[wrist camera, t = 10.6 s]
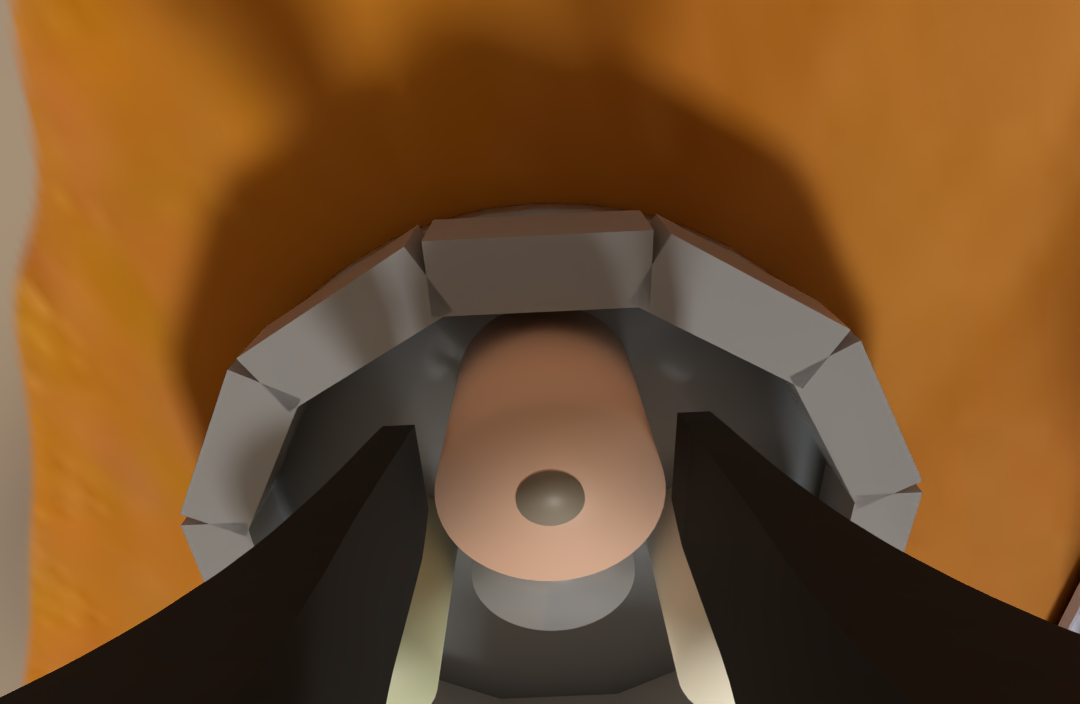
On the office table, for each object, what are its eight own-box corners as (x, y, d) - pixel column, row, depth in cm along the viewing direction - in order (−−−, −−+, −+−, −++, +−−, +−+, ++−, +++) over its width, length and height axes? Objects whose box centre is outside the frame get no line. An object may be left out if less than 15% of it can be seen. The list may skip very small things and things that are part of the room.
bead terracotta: (628, 450, 15) (659, 578, 11) (466, 456, 15) (447, 586, 11) (634, 300, 13) (674, 396, 10) (450, 307, 13) (421, 405, 10)
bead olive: (449, 475, 15) (424, 608, 12) (465, 588, 17) (448, 733, 13) (292, 482, 15) (217, 617, 12) (324, 594, 17) (269, 741, 13)
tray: (927, 184, 13) (1009, 213, 11) (805, 685, 21) (838, 761, 19) (148, 221, 13) (70, 257, 11) (314, 706, 21) (288, 785, 19)
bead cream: (803, 460, 15) (888, 589, 12) (787, 574, 17) (856, 717, 13) (643, 473, 15) (679, 604, 12) (645, 585, 17) (676, 729, 13)
